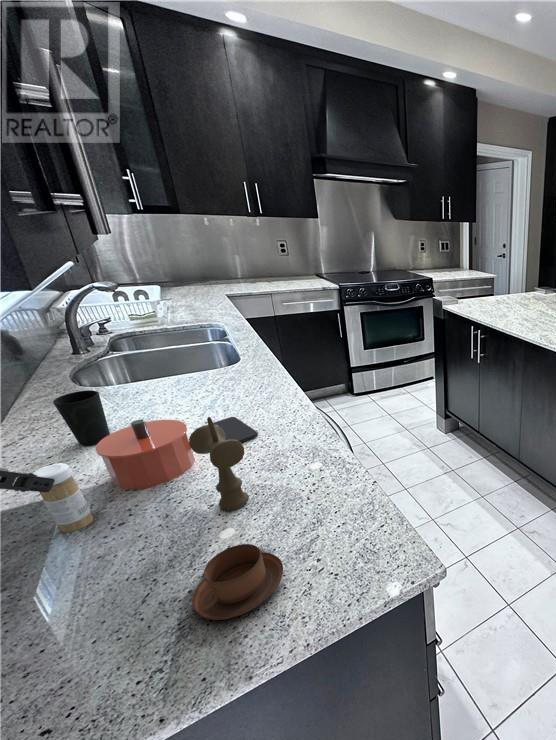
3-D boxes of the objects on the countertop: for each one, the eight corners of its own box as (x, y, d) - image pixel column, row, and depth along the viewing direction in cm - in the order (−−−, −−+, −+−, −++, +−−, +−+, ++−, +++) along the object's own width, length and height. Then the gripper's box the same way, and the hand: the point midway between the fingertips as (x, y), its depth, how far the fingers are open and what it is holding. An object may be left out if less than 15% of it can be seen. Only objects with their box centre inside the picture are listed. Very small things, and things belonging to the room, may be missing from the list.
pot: (202, 476, 89) (189, 440, 85) (119, 504, 80) (101, 465, 76) (190, 451, 98) (178, 416, 94) (114, 473, 89) (98, 436, 85)
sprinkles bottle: (81, 521, 76) (50, 461, 70) (104, 522, 76) (75, 463, 70) (54, 539, 72) (20, 477, 66) (79, 540, 72) (47, 479, 66)
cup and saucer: (263, 625, 59) (254, 595, 56) (176, 629, 58) (162, 599, 55) (297, 559, 70) (290, 531, 67) (224, 561, 69) (214, 534, 66)
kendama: (239, 486, 87) (215, 403, 78) (262, 505, 82) (238, 418, 74) (207, 501, 82) (178, 415, 74) (229, 522, 77) (200, 432, 69)
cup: (107, 429, 105) (89, 387, 100) (122, 437, 102) (105, 394, 97) (67, 443, 99) (46, 399, 94) (82, 451, 96) (61, 407, 91)
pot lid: (193, 442, 85) (187, 423, 84) (98, 470, 76) (89, 449, 74) (181, 417, 95) (175, 399, 93) (95, 439, 85) (87, 420, 83)
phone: (233, 415, 112) (259, 432, 105) (234, 418, 113) (260, 435, 105) (202, 426, 107) (227, 444, 99) (203, 428, 107) (228, 447, 99)
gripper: (-55, 441, 51) (78, 463, 66) (-154, 432, 52) (-1, 456, 67) (-92, 502, 49) (55, 511, 64) (-196, 492, 49) (-27, 503, 65)
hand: (26, 483), depth 65 cm, fingers open, 8 cm apart
